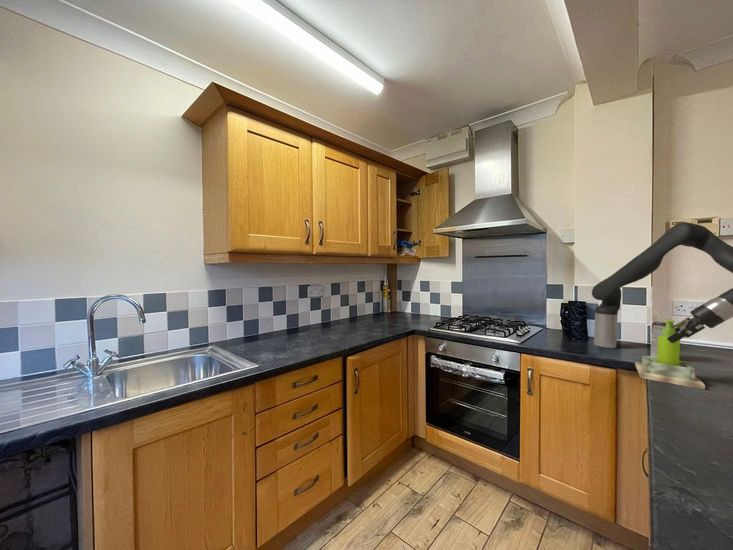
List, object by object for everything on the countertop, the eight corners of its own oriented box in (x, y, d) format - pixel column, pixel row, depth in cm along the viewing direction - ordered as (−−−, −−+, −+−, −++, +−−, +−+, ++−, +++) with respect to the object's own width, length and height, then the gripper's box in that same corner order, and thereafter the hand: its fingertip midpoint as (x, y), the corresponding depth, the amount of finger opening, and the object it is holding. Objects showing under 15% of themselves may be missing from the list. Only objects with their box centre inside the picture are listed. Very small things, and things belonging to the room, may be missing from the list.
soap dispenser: (674, 370, 114) (676, 319, 113) (681, 376, 108) (683, 322, 107) (653, 367, 117) (655, 317, 116) (659, 373, 111) (661, 320, 110)
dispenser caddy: (640, 377, 110) (641, 363, 109) (635, 365, 124) (635, 352, 124) (704, 389, 100) (705, 373, 100) (690, 374, 114) (691, 360, 114)
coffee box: (652, 354, 142) (654, 321, 141) (672, 357, 137) (673, 323, 136) (649, 357, 136) (651, 323, 135) (669, 361, 131) (671, 325, 130)
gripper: (697, 302, 111) (654, 328, 119) (709, 305, 100) (661, 334, 107) (718, 318, 108) (672, 343, 116) (733, 323, 97) (681, 351, 104)
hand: (667, 338), depth 112 cm, fingers open, 8 cm apart
